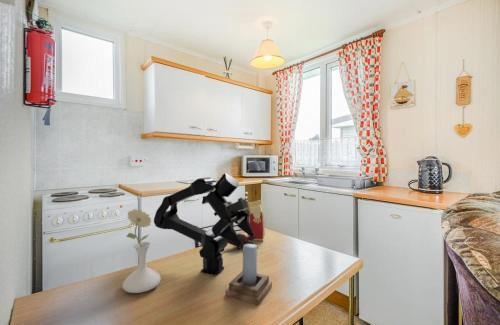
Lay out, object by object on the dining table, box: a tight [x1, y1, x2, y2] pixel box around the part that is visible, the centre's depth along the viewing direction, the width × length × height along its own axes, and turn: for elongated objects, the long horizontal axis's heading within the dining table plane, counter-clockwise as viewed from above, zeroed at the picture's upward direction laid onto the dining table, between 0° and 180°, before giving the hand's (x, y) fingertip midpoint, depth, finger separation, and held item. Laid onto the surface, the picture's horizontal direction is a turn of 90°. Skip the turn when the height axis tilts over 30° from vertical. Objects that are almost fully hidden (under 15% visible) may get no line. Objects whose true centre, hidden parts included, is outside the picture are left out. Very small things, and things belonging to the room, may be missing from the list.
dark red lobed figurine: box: [228, 232, 256, 250], centre depth 110 cm, size 7×7×15 cm
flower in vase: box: [121, 208, 162, 294], centre depth 77 cm, size 13×11×25 cm
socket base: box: [224, 270, 273, 306], centre depth 75 cm, size 11×11×4 cm
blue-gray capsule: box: [242, 243, 258, 287], centre depth 75 cm, size 4×4×12 cm
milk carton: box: [246, 199, 266, 241], centre depth 124 cm, size 9×9×20 cm
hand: (247, 240), depth 82 cm, fingers open, 9 cm apart
